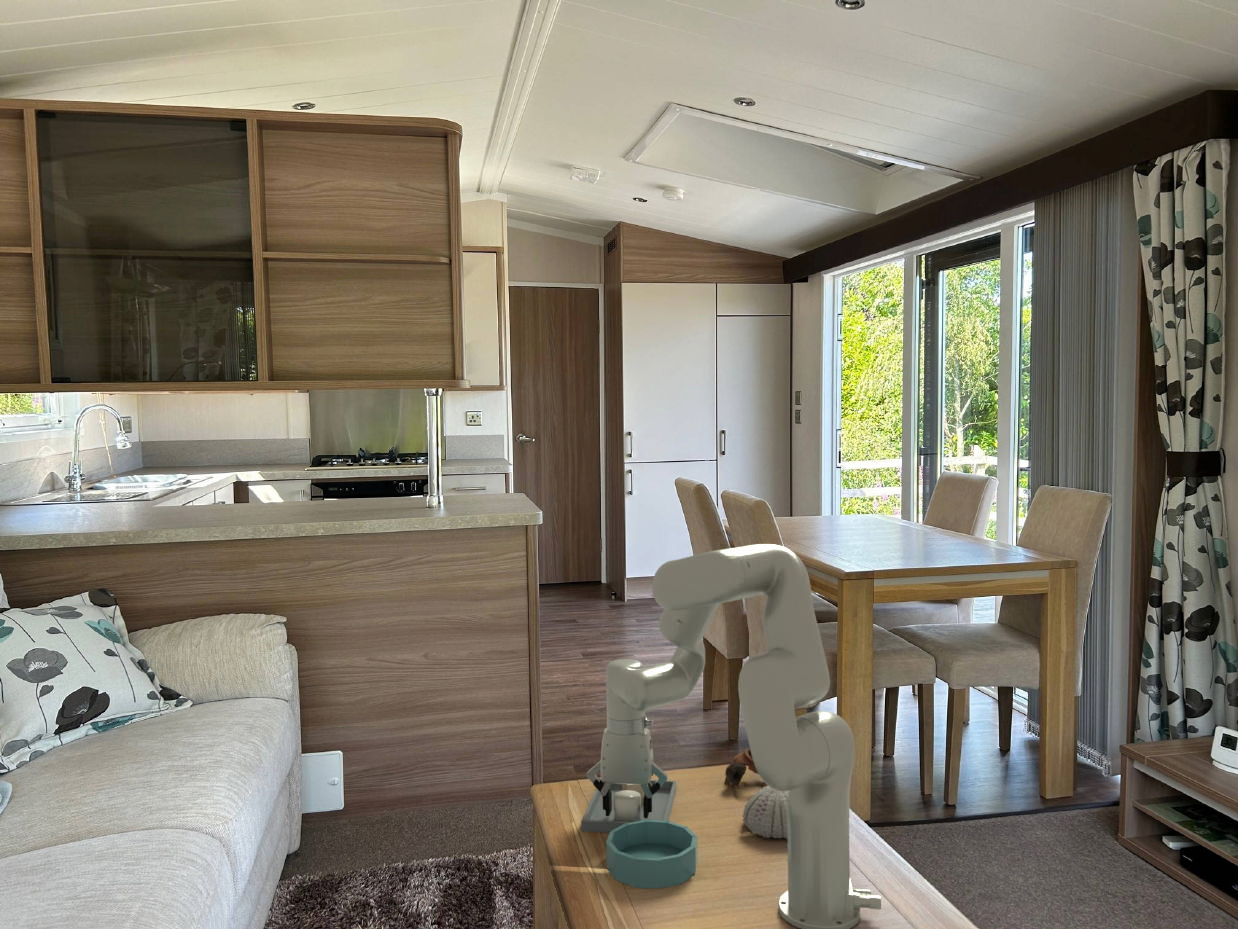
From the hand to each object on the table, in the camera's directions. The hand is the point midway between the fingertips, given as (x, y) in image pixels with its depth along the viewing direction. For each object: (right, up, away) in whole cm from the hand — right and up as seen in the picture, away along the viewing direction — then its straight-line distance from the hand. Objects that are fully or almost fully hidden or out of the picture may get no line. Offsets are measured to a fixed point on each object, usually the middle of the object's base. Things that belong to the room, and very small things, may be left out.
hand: (627, 813), depth 176 cm
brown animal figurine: (+26, -1, +18) cm, 31 cm away
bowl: (+4, -2, -18) cm, 18 cm away
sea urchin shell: (+29, -2, -4) cm, 29 cm away
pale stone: (0, -1, 0) cm, 1 cm away
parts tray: (+1, -2, +5) cm, 5 cm away
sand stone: (+2, -1, +10) cm, 11 cm away
